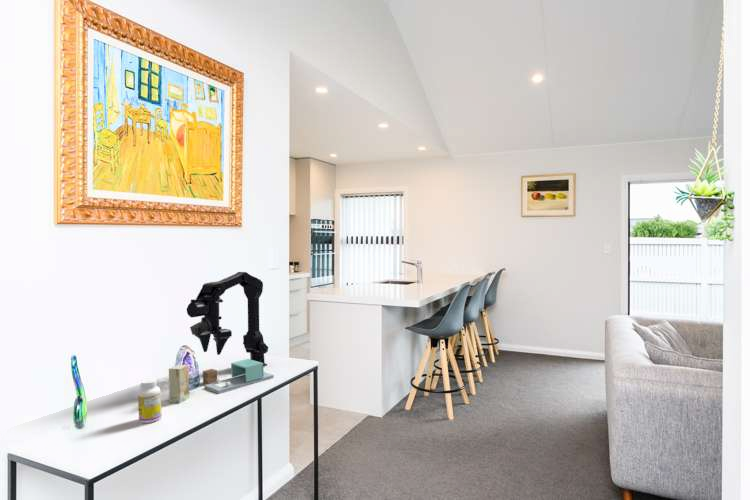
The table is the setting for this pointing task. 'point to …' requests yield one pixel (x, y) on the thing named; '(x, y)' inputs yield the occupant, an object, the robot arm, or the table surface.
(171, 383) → the skincare box
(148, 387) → the supplement bottle
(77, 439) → the table surface
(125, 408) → the table surface
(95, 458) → the table surface
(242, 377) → the grey flat rectangular block
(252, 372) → the block
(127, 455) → the table surface
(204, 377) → the block
